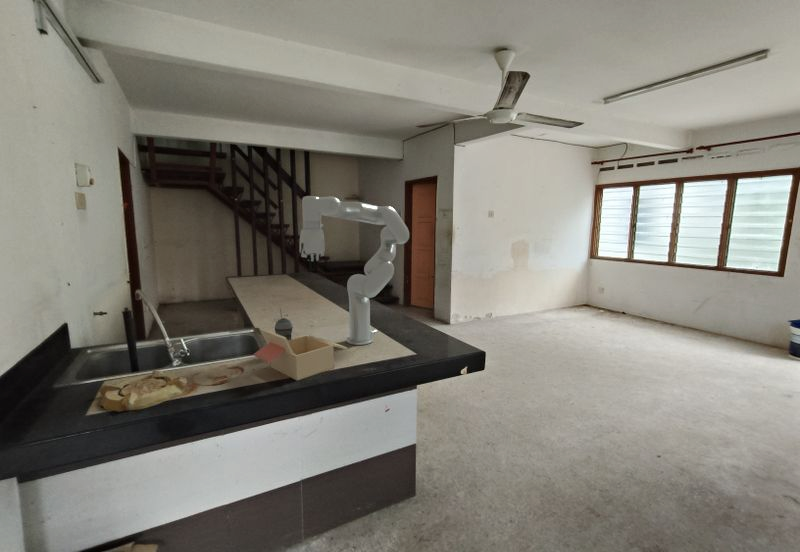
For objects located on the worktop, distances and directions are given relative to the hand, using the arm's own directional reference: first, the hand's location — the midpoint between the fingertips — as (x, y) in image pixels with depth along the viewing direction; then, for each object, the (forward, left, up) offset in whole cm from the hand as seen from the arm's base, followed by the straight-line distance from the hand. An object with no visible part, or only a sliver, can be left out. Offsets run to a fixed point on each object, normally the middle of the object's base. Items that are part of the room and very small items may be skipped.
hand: (313, 270), depth 158 cm
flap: (+25, +13, -22) cm, 36 cm away
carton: (+15, +13, -35) cm, 40 cm away
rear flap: (+3, +13, -27) cm, 30 cm away
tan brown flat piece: (+62, -5, -36) cm, 72 cm away
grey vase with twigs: (+12, -5, -35) cm, 38 cm away
